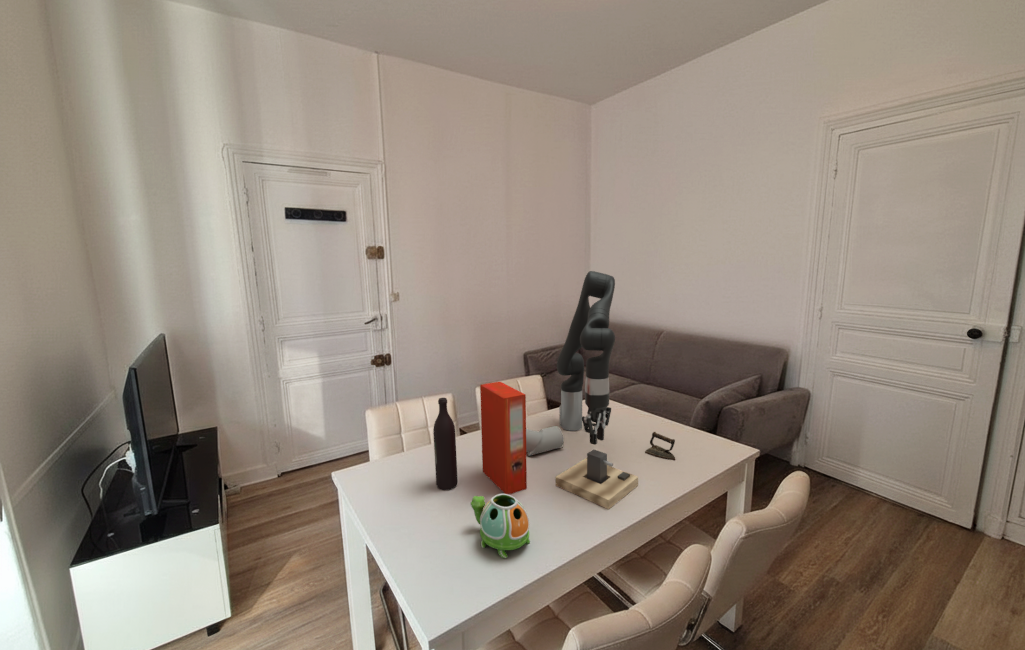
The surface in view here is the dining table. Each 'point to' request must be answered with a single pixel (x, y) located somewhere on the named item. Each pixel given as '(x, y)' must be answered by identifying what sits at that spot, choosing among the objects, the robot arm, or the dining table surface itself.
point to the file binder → (504, 436)
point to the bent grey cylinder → (543, 440)
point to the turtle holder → (501, 522)
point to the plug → (597, 466)
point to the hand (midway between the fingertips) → (596, 441)
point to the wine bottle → (445, 449)
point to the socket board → (597, 484)
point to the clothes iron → (660, 451)
